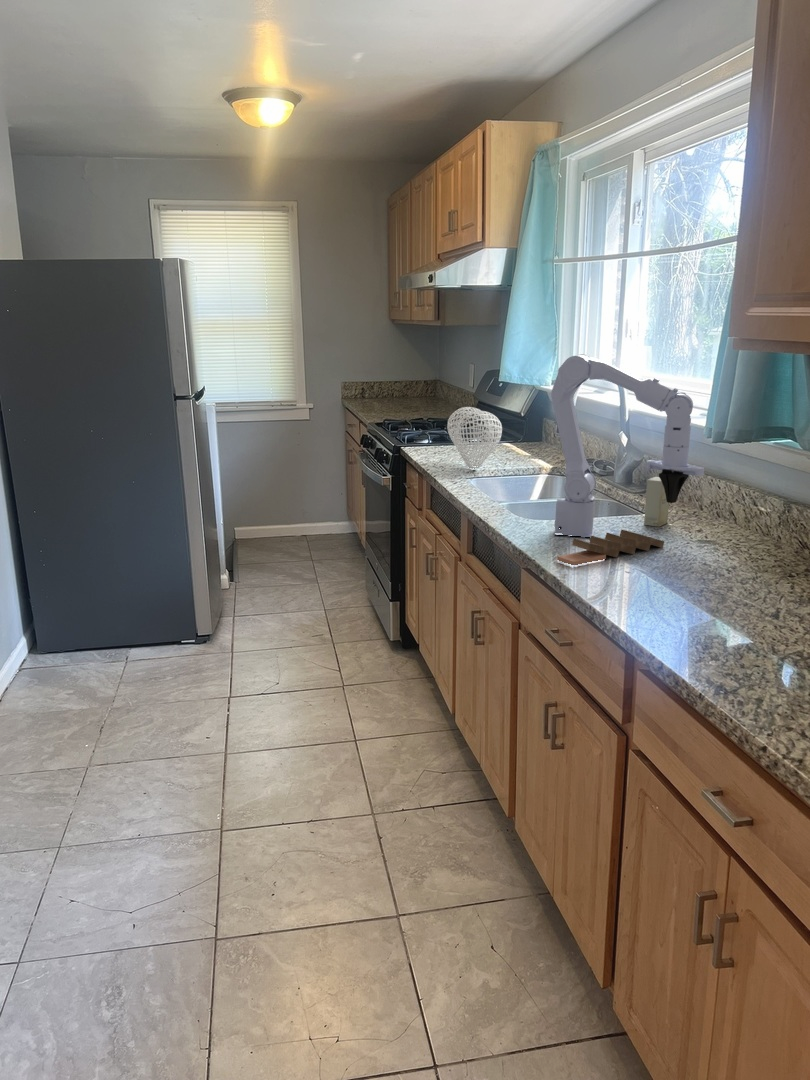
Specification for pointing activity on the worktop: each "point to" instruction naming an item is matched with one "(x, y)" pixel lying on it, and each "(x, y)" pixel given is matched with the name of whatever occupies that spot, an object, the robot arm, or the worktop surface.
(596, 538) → the walnut tile
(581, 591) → the worktop surface
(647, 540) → the walnut tile
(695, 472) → the robot arm
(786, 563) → the worktop surface
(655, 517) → the skincare box
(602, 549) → the walnut tile
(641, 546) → the walnut tile
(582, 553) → the terracotta tile
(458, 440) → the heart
